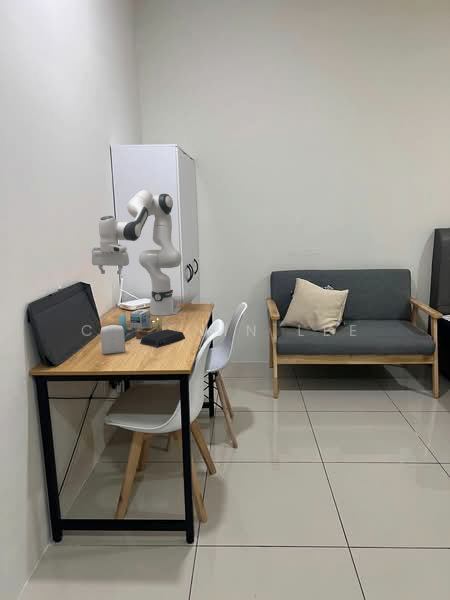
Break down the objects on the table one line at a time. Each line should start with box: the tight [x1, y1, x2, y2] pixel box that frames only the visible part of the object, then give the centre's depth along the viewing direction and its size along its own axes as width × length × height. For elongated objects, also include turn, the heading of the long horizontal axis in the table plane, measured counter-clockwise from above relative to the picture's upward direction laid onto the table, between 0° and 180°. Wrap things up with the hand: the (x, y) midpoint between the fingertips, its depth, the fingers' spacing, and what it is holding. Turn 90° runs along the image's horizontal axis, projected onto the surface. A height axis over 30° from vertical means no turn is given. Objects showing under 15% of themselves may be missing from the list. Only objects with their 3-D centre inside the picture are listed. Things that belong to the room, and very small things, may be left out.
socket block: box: [135, 327, 157, 340], centre depth 227 cm, size 8×8×4 cm
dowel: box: [118, 313, 128, 337], centre depth 226 cm, size 4×4×11 cm
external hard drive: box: [139, 328, 186, 349], centre depth 220 cm, size 13×19×4 cm
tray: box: [124, 328, 137, 343], centre depth 227 cm, size 14×9×2 cm, turn 164°
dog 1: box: [150, 319, 158, 331], centre depth 232 cm, size 3×3×7 cm
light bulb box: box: [129, 308, 152, 330], centre depth 238 cm, size 11×7×11 cm, turn 164°
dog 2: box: [154, 317, 163, 331], centre depth 237 cm, size 3×3×7 cm
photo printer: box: [100, 324, 126, 355], centre depth 203 cm, size 10×4×12 cm, turn 105°
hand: (111, 273), depth 242 cm, fingers open, 8 cm apart
